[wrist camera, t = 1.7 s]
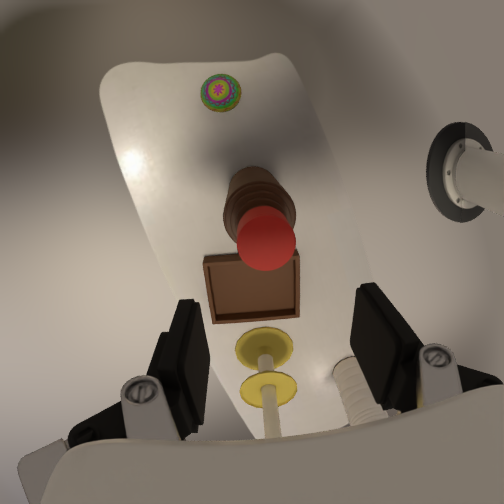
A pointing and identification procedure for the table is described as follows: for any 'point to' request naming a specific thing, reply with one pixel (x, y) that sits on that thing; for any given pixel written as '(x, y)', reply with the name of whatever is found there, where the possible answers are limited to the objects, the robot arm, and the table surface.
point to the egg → (220, 93)
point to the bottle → (255, 197)
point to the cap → (265, 238)
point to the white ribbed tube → (356, 393)
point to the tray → (251, 290)
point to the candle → (266, 374)
